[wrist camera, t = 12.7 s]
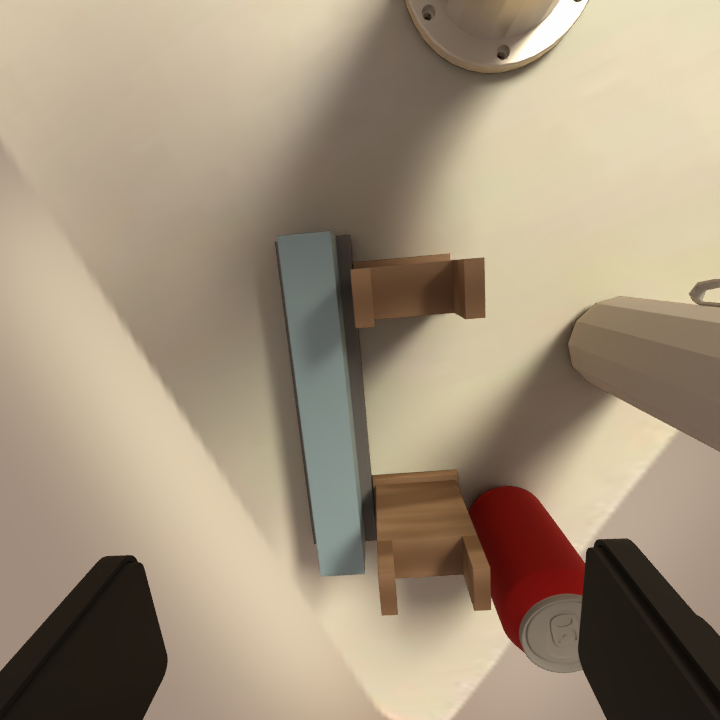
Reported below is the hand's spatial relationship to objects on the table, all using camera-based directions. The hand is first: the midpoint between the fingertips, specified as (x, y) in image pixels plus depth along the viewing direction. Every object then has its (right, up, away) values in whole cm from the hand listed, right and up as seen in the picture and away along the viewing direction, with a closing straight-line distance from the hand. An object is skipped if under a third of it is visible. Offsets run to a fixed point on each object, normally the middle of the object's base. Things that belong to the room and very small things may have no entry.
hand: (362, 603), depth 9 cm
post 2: (+5, -7, +27) cm, 28 cm away
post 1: (+3, +11, +23) cm, 25 cm away
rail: (-2, +2, +24) cm, 25 cm away
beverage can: (+13, -9, +27) cm, 31 cm away
